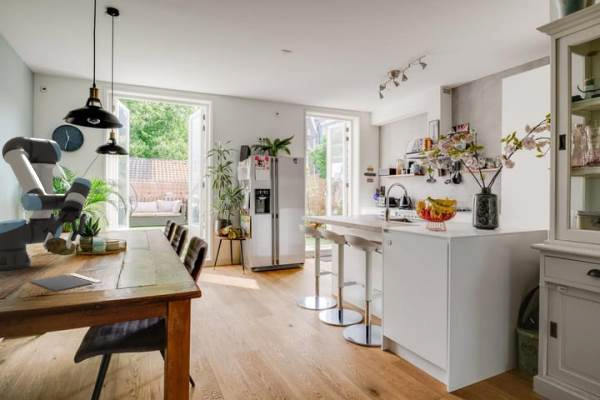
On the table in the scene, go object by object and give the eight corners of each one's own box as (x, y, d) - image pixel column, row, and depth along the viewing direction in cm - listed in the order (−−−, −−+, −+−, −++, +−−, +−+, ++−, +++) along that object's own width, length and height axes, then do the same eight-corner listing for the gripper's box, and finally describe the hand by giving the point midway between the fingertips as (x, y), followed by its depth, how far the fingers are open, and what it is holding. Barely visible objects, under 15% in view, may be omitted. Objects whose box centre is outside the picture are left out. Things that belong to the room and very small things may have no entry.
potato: (84, 253, 147) (84, 235, 147) (52, 259, 135) (52, 239, 135) (71, 252, 150) (71, 233, 150) (39, 257, 138) (39, 237, 138)
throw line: (68, 274, 156) (68, 274, 156) (74, 273, 158) (74, 273, 158) (96, 283, 143) (96, 282, 143) (102, 281, 145) (102, 281, 145)
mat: (29, 281, 144) (29, 280, 144) (64, 275, 155) (64, 274, 155) (55, 291, 131) (55, 290, 131) (91, 284, 141) (91, 282, 141)
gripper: (100, 210, 159) (86, 251, 143) (51, 210, 155) (31, 253, 139) (96, 199, 154) (81, 240, 138) (45, 199, 149) (23, 242, 134)
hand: (56, 247), depth 139 cm, fingers closed on potato, 7 cm apart
